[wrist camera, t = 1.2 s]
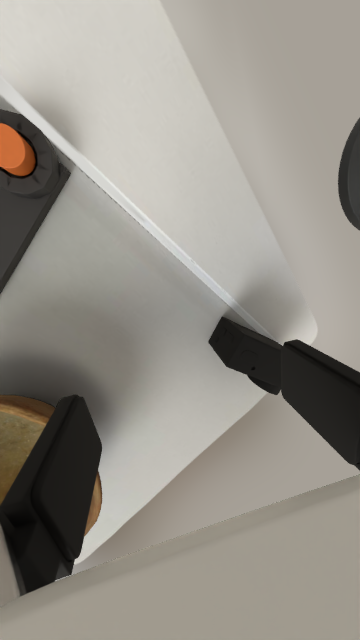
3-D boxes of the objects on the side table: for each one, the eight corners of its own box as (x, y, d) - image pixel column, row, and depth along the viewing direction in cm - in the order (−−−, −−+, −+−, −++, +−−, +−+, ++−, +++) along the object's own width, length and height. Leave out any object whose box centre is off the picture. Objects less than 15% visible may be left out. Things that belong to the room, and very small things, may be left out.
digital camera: (203, 348, 30) (220, 375, 23) (221, 316, 28) (244, 334, 22) (258, 371, 32) (287, 400, 26) (276, 341, 31) (312, 364, 25)
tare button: (6, 125, 17) (-8, 111, 15) (42, 154, 18) (32, 144, 16) (-10, 158, 17) (-26, 147, 16) (25, 184, 18) (14, 177, 17)
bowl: (124, 359, 28) (115, 412, 19) (105, 482, 34) (91, 569, 24) (-73, 338, 23) (-221, 395, 14) (-55, 486, 29) (-150, 596, 20)
